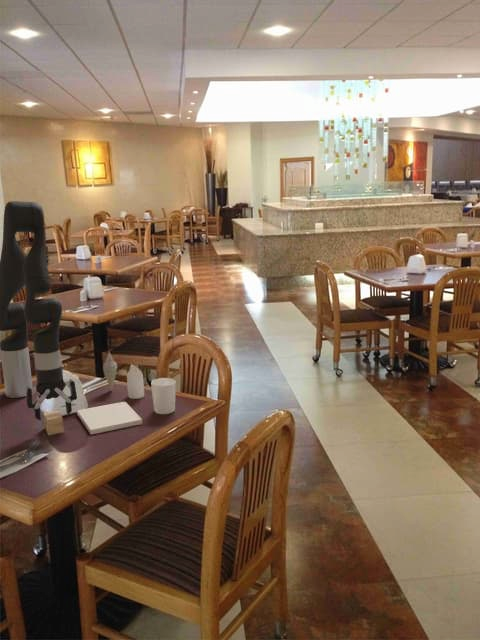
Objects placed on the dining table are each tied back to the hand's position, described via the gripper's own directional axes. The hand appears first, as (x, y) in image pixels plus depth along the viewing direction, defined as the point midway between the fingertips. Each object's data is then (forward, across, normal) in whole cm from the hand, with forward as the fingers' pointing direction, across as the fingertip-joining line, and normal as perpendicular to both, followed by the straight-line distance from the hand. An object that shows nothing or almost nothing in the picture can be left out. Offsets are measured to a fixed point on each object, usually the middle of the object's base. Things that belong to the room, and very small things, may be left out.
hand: (53, 416), depth 173 cm
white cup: (+5, -35, +2) cm, 35 cm away
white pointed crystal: (+5, -31, -16) cm, 35 cm away
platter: (+4, -17, 0) cm, 17 cm away
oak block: (+5, 0, 0) cm, 5 cm away
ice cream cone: (+4, -25, -26) cm, 36 cm away
